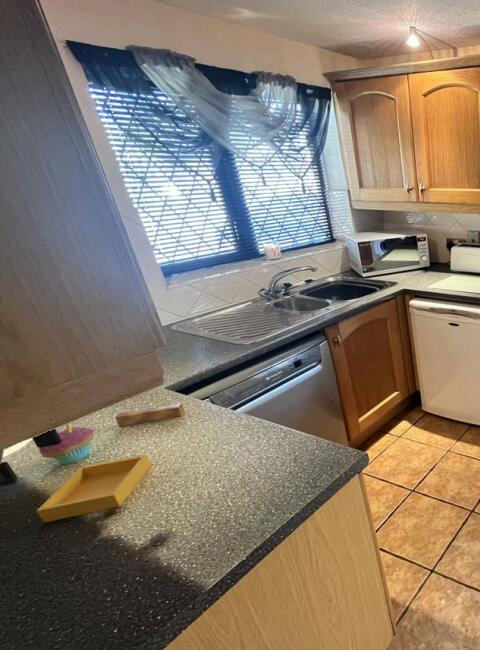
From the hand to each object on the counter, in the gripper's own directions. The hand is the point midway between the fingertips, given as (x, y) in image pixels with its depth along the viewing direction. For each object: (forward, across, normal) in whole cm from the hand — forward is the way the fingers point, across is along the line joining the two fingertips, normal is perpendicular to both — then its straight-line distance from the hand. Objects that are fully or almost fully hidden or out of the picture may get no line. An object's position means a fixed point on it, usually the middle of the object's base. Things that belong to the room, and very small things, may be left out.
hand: (29, 463), depth 66 cm
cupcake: (+17, -26, -14) cm, 34 cm away
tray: (+17, -11, -1) cm, 20 cm away
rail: (+17, -38, -4) cm, 41 cm away
